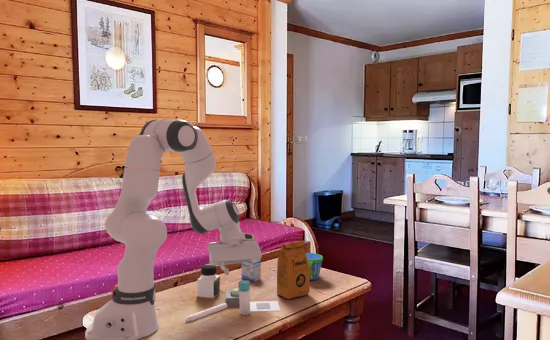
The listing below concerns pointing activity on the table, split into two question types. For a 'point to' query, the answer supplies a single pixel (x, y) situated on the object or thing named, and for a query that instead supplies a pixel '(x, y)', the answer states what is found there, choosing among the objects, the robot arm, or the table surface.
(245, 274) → the medicine box
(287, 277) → the coffee package
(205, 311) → the marker
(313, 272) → the snack cup
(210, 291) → the medicine bottle
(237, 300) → the button housing
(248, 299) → the fat marker
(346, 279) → the table surface
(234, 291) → the button
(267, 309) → the drawing sheet
